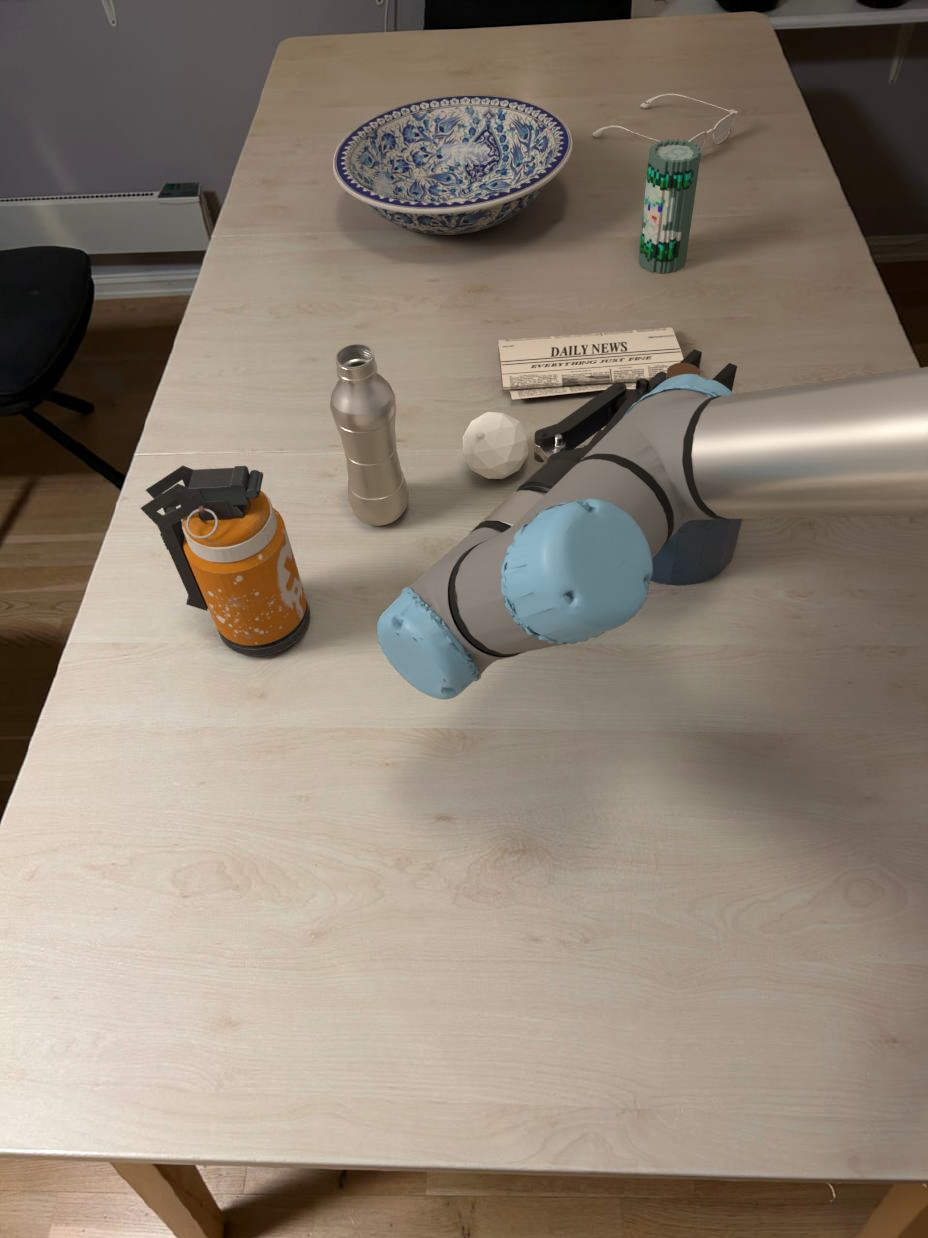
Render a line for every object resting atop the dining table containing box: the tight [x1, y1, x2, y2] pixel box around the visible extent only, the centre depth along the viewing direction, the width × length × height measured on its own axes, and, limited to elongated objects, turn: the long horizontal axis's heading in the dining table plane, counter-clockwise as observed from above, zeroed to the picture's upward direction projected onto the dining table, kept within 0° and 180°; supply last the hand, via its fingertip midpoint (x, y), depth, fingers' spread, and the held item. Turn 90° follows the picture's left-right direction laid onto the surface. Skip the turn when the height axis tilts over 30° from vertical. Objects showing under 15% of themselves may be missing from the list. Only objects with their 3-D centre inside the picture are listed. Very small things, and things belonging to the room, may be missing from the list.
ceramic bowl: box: [332, 94, 574, 236], centre depth 136 cm, size 34×34×10 cm
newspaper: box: [497, 327, 685, 400], centre depth 114 cm, size 23×12×2 cm, turn 92°
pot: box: [650, 519, 743, 586], centre depth 93 cm, size 13×18×10 cm
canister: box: [139, 465, 311, 657], centre depth 84 cm, size 9×11×20 cm
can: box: [638, 138, 702, 274], centre depth 123 cm, size 6×6×15 cm
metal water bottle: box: [329, 343, 409, 527], centre depth 93 cm, size 6×7×20 cm
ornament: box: [461, 411, 529, 480], centre depth 101 cm, size 7×7×8 cm
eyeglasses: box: [592, 93, 739, 153], centre depth 150 cm, size 15×18×4 cm
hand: (712, 371), depth 79 cm, fingers closed on lid, 3 cm apart
